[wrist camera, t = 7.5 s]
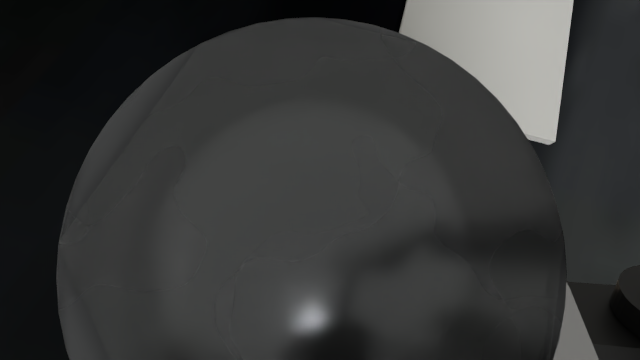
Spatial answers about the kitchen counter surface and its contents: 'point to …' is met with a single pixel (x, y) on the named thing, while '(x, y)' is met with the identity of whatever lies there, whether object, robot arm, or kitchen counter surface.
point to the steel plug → (311, 210)
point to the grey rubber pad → (503, 51)
